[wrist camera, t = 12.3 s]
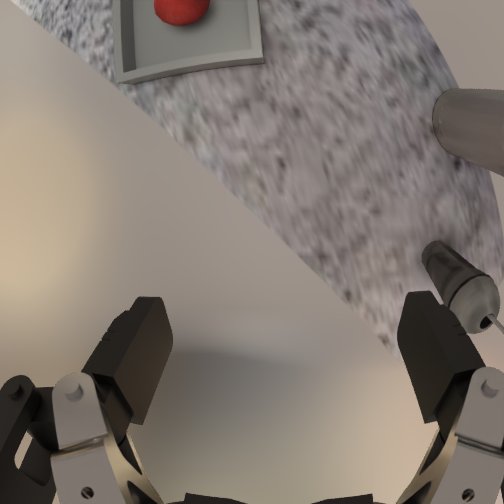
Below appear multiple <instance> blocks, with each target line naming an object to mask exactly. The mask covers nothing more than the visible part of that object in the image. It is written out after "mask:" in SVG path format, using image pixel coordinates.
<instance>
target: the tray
mask: <svg viewBox="0 0 504 504" xmlns="http://www.w3.org/2000/svg"><path fill="white" fill-rule="evenodd" d="M113 40H114V59H115V73H116V83H119V84H132V85H134V84H138V83H142V82H146V81H151V80H155V79H160V78H164V77H169V76H174V75H179V74H185V73H190V72H196V71H203V70H209V69H217V68H224V67H233V66H243V65H254V64H265V62H264V51H263V41H262V30H261V20H260V11H259V1H258V0H210V3H209V7H208V10H207V11H206V13H205V14H204V16H203V17H202V18H200V19H199V20H197V21H196V22H194V23H192V24H188V25H185V26H173V25H170V24H167V23H164V22H162V21H161V19H160V18H159V17H158V16H157V15H156V14H155V9H154V0H113Z"/></svg>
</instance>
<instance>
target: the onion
mask: <svg viewBox="0 0 504 504" xmlns="http://www.w3.org/2000/svg"><path fill="white" fill-rule="evenodd" d="M209 3H210V0H154V9H155V14H156V15H157V16H158V17H159V18H160V19H161V21H162V22H164V23H167V24H170V25H173V26H185V25H188V24H192V23H194V22H196V21H197V20H199V19H200V18H202V17H203V16H204V14H205V13H206V11H207V10H208V7H209Z"/></svg>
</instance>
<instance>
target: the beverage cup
mask: <svg viewBox="0 0 504 504" xmlns="http://www.w3.org/2000/svg"><path fill="white" fill-rule="evenodd" d="M422 262H423V264H424V266H425V269H426V270H427V272H428V274H429V276H430V278H431V280H432V281H433V283H434V285H435V287H436V289H437V291H438V293H439V294H440V296H441V298H442V300H443V302H444V305H445V306H446V307H447V308H449V309H450V310H451V311H452V312H454V313H455V315H456V316H457V318H458V320H459V321H460V323H461V326H463V328H464V329H465V331H466V332H467V333H470V334H476V333H480V332H483V331H485V330H487V329H488V328H489V327H490V326H491V325H492V324H493V323H494V324H495V325H496V326H497V327H498V328H499V329H500V330H501V331H502V333H503V334H504V327H503V326H502V325H501V324H500V322H499V321H498V320H497V319H496V318H497V316H498V313H499V309H500V296H499V292H498V289H497V287H496V285H495V284H494V281H493V279H492V278H491V277H490V276H489V275H486V274H485V273H484V272H482V271H480V270H478V269H476V268H475V267H474V266H473V265H472V264H470V263H469V262H468V261H467V260H466V259H464V258H463V257H462V256H461V255H459V254H458V253H457V252H456V251H454V250H453V249H452V248H451V247H449V246H448V245H446V244H444V243H443V242H441V241H434V242H432V243H430V244H429V245H428V246H427V247H426V248H425V249H424V251H423V254H422Z"/></svg>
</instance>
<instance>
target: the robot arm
mask: <svg viewBox="0 0 504 504" xmlns="http://www.w3.org/2000/svg"><path fill="white" fill-rule="evenodd" d="M433 126H434V130H435V134H436V136H437V138H438V141H439V142H440V144H441V145H442V147H443V148H444V149H445V150H446V151H448V152H449V153H451V154H452V155H455V156H457V157H460V158H462V159H464V160H467V161H469V162H471V163H474V164H476V165H479V166H481V167H483V168H485V169H488V170H490V171H492V172H495V173H497V174H499V175H501V176H503V177H504V90H490V89H451V90H448V91H446V92H444V93H443V94H442V95H441V96H440V97H439V98H438V100H437V102H436V104H435V107H434V111H433ZM397 341H398V346H399V349H400V352H401V354H402V357H403V360H404V362H405V365H406V368H407V371H408V374H409V376H410V379H411V382H412V385H413V388H414V391H415V394H416V397H417V400H418V403H419V407H420V410H421V413H422V416H423V420H424V423H425V424H426V423H430V422H434V421H437V422H438V425H439V428H438V429H437V431H436V433H435V435H434V437H433V439H432V442H431V444H430V446H429V448H428V450H427V453H426V455H425V457H424V459H423V461H422V463H421V465H420V467H419V469H418V471H417V473H416V475H415V477H414V478H413V480H412V481H411V483H410V484H409V486H408V487H407V488H406V489H405V491H404V492H403V493H402V495H401V496H400V498H399V499H398V501H397V502H396V504H495V501H496V499H497V496H498V493H499V490H500V488H501V492H502V498H503V503H504V373H503V372H502V371H500V370H498V369H496V368H492V367H486V365H485V364H484V362H483V360H482V358H481V356H480V355H479V353H478V351H477V349H476V348H475V346H474V344H473V343H472V341H471V339H470V337H469V336H468V335H467V332H466V331H465V329H464V328H463V326H461V323H460V321H459V320H458V318H457V316H456V315H455V313H454V312H452V311H451V310H450V309H449V308H447V307H446V306H445V305H444V304H442V305H440V304H439V303H438V301H437V300H436V298H435V297H434V295H433V293H432V292H431V291H417V292H409V293H408V294H407V295H406V298H405V303H404V307H403V311H402V315H401V319H400V322H399V326H398V331H397ZM172 345H173V335H172V330H171V326H170V323H169V320H168V316H167V313H166V309H165V306H164V302H163V300H162V298H160V297H138V298H137V299H136V300H135V302H134V304H133V305H132V307H131V308H130V310H129V311H126V310H125V311H124V312H123V313H122V314H120V315H119V316H118V317H117V318H115V319H114V320H113V322H112V323H111V325H110V327H109V328H108V330H107V332H106V333H105V334H104V336H103V337H102V341H100V342H99V344H98V345H97V347H96V348H95V350H94V351H93V353H92V355H91V356H90V358H89V359H88V361H87V363H86V364H85V366H84V368H83V369H82V371H81V372H75V373H70V374H68V375H66V376H64V377H62V378H61V379H60V380H59V381H58V382H57V383H56V384H55V386H54V387H43V388H42V387H41V388H36V387H35V385H34V384H33V383H32V381H31V380H30V379H29V378H28V377H27V376H24V375H18V376H15V377H13V378H11V379H9V380H8V381H7V382H6V383H5V384H4V385H3V387H2V388H1V390H0V504H52V502H53V499H54V496H55V493H56V490H57V494H58V497H59V501H60V504H164V502H163V501H162V499H161V497H160V495H159V494H158V493H157V491H156V489H155V488H154V487H153V485H152V484H151V482H150V481H149V479H148V477H147V475H146V473H145V471H144V469H143V466H142V464H141V462H140V460H139V457H138V455H137V453H136V450H135V448H134V445H133V443H132V440H131V438H130V435H129V433H128V431H127V428H128V426H129V423H134V424H139V425H143V422H144V420H145V417H146V414H147V412H148V409H149V406H150V404H151V401H152V398H153V396H154V393H155V390H156V388H157V385H158V383H159V380H160V378H161V375H162V372H163V370H164V367H165V365H166V362H167V360H168V357H169V355H170V352H171V350H172ZM26 431H27V432H28V433H29V434H30V435H31V436H32V437H33V439H32V441H31V443H30V446H29V448H28V450H27V452H26V454H25V457H24V459H23V461H22V464H21V466H20V468H19V469H18V468H17V467H16V465H15V461H14V458H15V454H16V452H17V450H18V447H19V445H20V443H21V441H22V439H23V437H24V434H25V433H26ZM168 504H246V503H243V502H239V501H236V500H233V499H228V498H219V497H210V496H202V495H196V494H190V493H186V495H185V499H184V501H179V502H173V503H168ZM312 504H384V503H378V502H373V496H372V494H367V495H360V496H353V497H344V498H335V499H327V500H323V501H320V502H316V503H312Z"/></svg>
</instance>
